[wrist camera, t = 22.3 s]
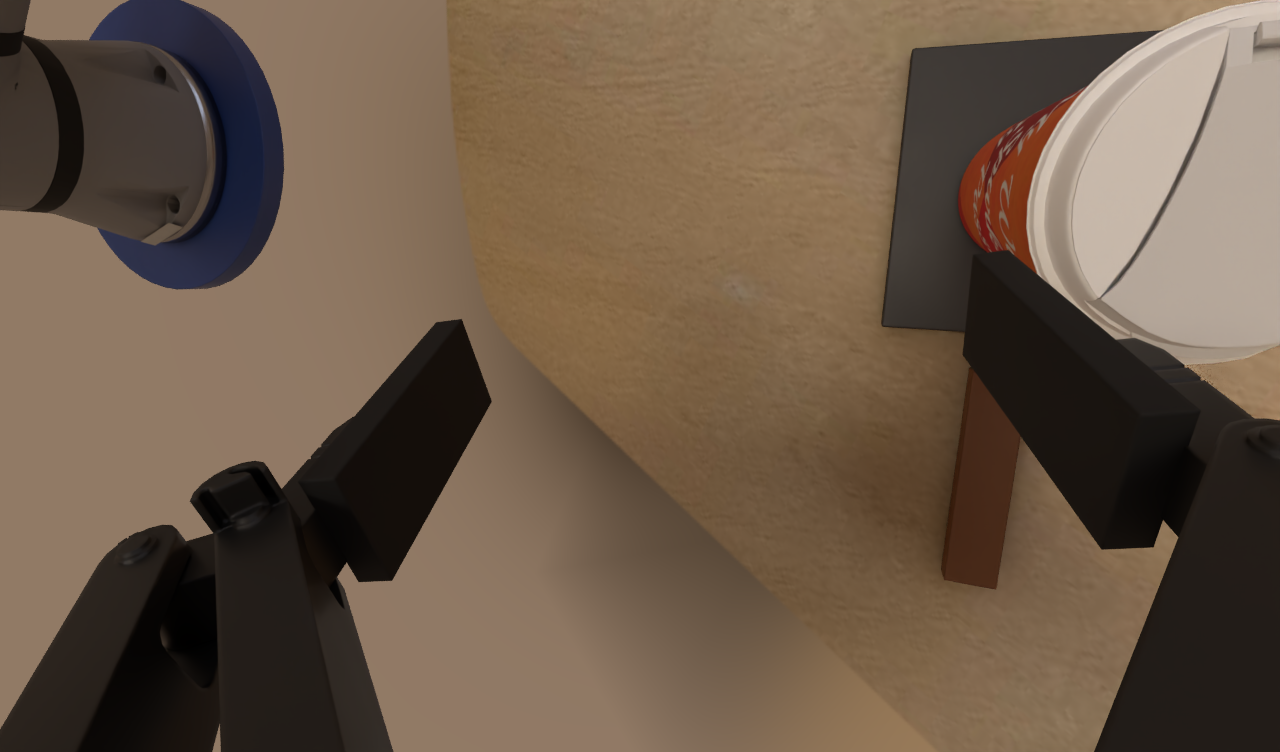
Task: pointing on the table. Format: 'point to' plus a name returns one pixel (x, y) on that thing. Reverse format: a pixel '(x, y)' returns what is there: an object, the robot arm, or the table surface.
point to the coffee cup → (1153, 189)
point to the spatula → (971, 242)
